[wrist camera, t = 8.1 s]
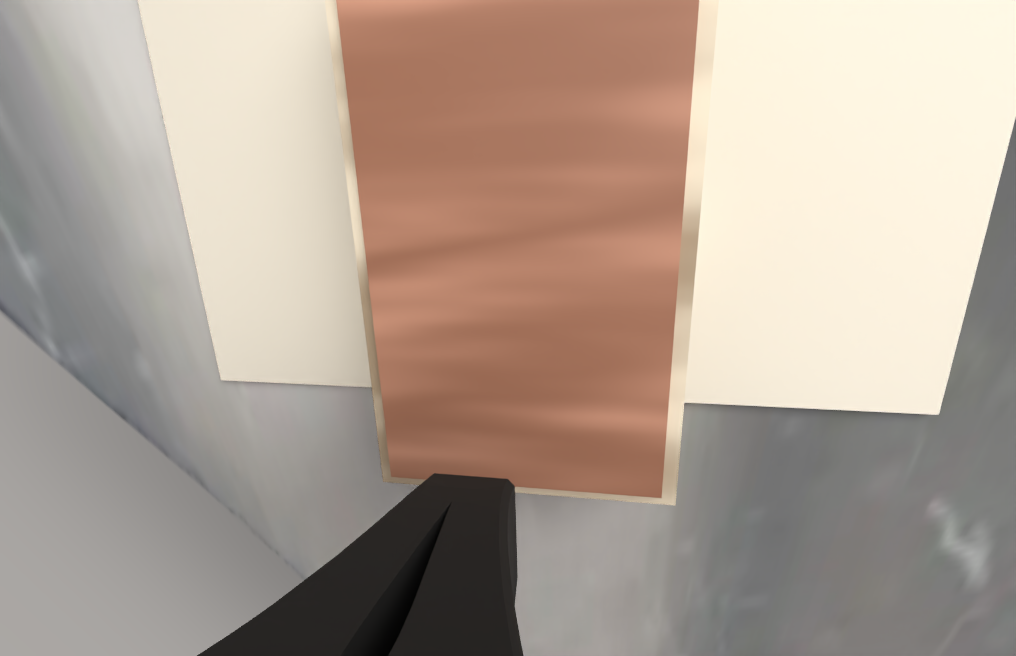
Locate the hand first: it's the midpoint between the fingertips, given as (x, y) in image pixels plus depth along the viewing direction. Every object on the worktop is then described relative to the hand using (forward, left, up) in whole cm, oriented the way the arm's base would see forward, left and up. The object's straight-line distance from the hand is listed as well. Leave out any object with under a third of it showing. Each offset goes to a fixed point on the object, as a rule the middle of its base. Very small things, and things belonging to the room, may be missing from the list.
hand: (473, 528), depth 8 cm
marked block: (-3, 0, -7) cm, 8 cm away
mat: (+6, 0, -9) cm, 11 cm away
